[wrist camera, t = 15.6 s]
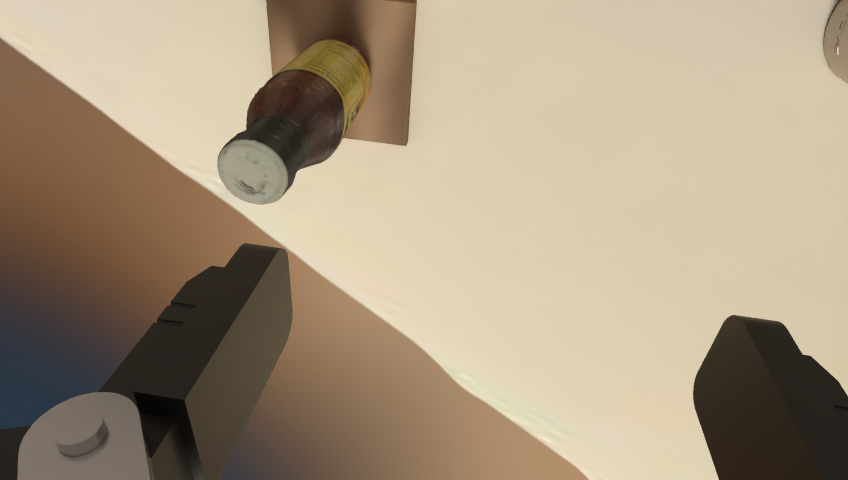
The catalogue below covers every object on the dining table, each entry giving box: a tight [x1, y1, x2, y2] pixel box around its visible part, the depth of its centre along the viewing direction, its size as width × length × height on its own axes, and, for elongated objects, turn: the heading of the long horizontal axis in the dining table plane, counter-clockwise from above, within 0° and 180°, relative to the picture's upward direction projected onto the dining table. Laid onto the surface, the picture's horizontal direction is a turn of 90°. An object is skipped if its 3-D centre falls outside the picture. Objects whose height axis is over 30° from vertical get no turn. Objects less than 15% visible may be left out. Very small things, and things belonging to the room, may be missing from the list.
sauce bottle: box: [218, 38, 371, 204], centre depth 38 cm, size 6×6×20 cm
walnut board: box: [266, 0, 417, 146], centre depth 47 cm, size 12×12×1 cm
